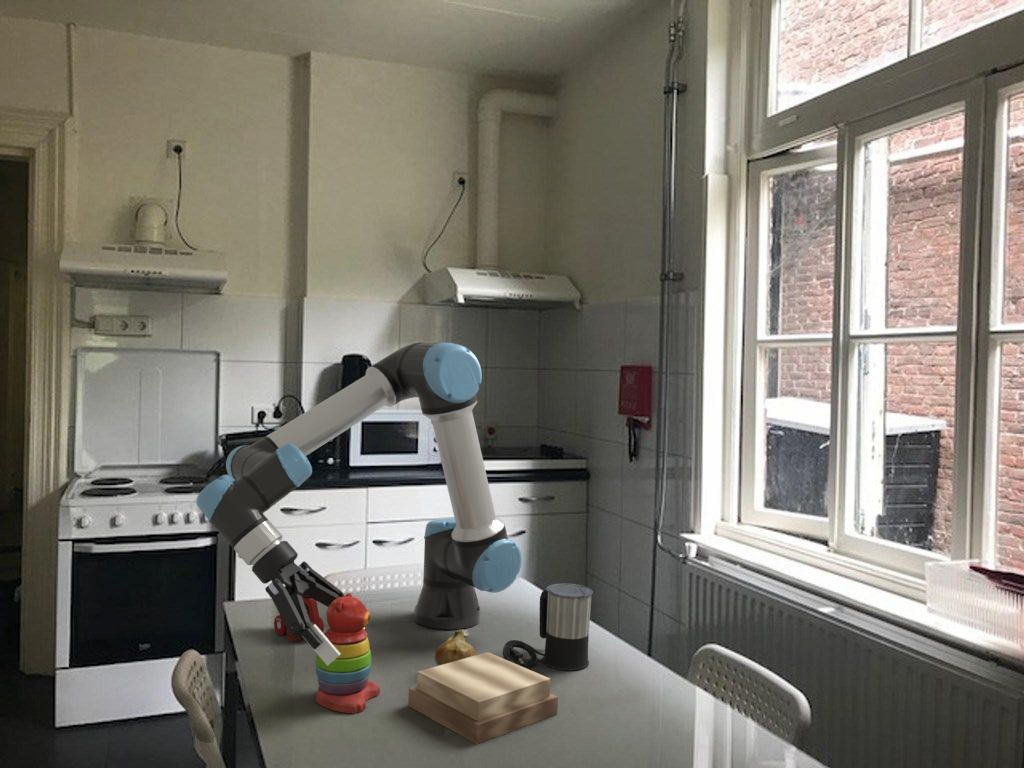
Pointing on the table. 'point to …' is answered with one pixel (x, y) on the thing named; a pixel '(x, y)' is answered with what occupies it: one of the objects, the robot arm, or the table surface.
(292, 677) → the table surface
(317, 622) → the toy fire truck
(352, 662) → the stacking bear
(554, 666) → the milk frother
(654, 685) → the table surface
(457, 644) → the onion
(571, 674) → the table surface
